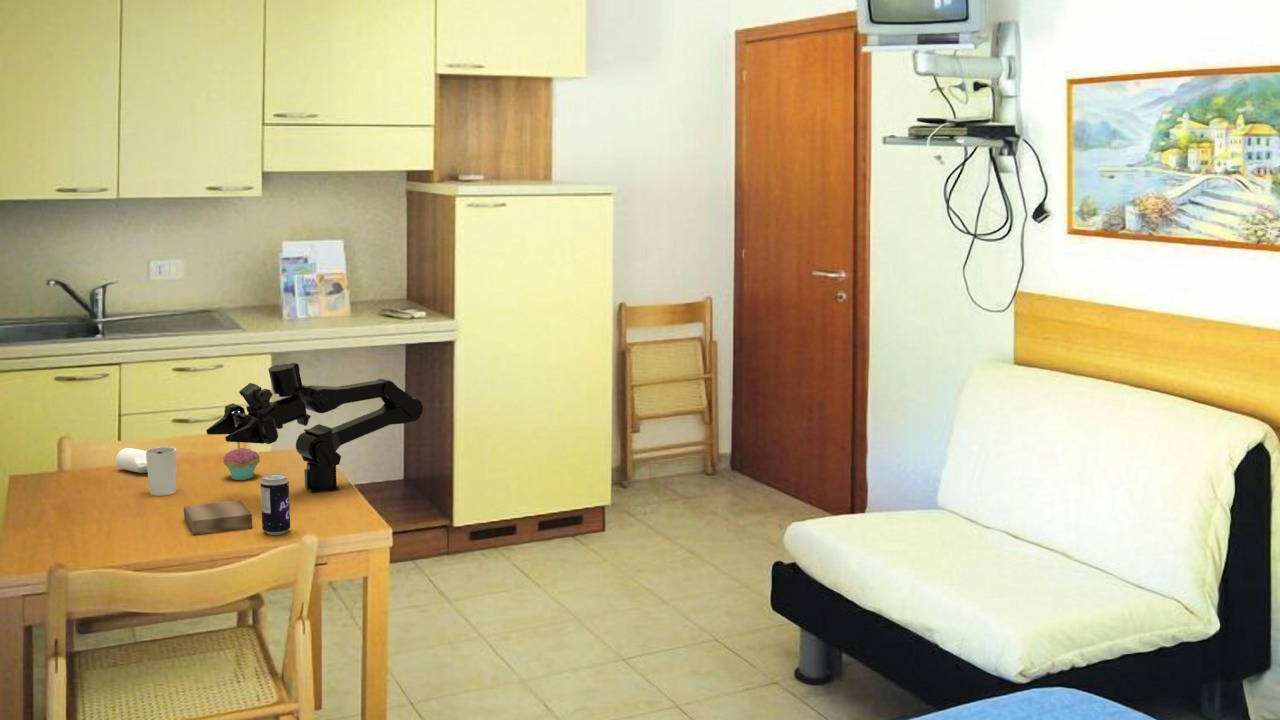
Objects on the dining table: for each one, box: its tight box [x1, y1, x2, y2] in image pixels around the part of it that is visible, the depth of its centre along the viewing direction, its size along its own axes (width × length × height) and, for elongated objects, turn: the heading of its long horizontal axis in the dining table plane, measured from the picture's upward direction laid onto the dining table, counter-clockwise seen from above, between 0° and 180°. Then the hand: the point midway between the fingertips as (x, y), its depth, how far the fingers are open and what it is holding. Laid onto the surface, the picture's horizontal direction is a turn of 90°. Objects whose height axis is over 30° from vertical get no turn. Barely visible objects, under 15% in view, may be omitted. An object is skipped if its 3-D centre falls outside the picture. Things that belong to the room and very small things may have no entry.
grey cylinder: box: [145, 446, 177, 497], centre depth 306 cm, size 7×7×10 cm
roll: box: [115, 447, 148, 474], centre depth 324 cm, size 6×12×6 cm, turn 57°
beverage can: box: [260, 473, 291, 536], centre depth 277 cm, size 6×6×12 cm
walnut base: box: [183, 500, 253, 536], centre depth 283 cm, size 12×12×3 cm
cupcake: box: [222, 442, 261, 481], centre depth 320 cm, size 9×8×12 cm
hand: (216, 435), depth 292 cm, fingers open, 9 cm apart
